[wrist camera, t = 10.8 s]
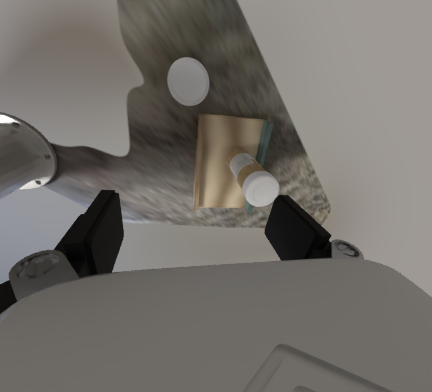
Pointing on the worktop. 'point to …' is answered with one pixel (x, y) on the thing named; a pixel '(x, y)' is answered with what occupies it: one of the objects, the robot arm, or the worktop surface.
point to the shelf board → (216, 157)
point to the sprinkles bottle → (252, 178)
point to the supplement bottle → (188, 81)
